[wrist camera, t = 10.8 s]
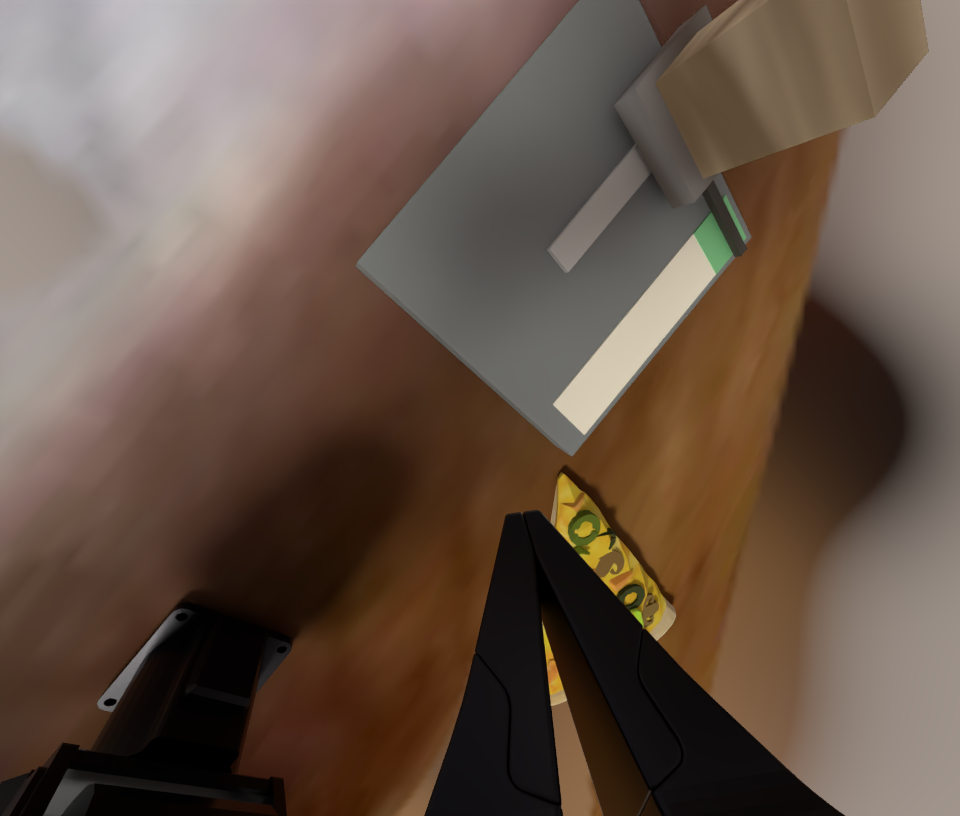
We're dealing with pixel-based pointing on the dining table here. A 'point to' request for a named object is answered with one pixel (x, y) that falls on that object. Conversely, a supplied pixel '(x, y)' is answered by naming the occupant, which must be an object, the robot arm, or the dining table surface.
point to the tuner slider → (764, 87)
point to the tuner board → (555, 234)
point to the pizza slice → (604, 568)
